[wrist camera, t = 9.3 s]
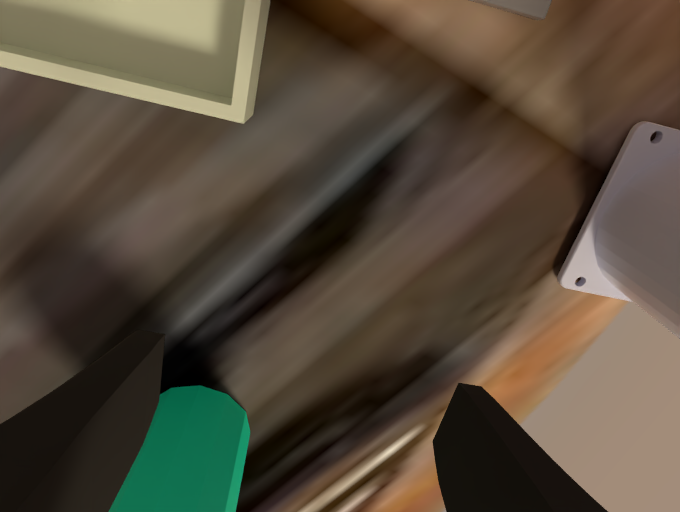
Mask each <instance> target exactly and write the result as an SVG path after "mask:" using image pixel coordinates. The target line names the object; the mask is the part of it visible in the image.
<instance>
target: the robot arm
mask: <svg viewBox="0 0 680 512" xmlns="http://www.w3.org/2000/svg"><path fill="white" fill-rule="evenodd" d="M654 132H656V137H655V138H654V140H653V141H650V137H651V135H652V134H653V133H654ZM579 277H581V279H580V281H578V282H576V283H575V281H576V279H577V278H579ZM557 280H558V282H559V284H560V285H561V286H562V287H564V288H567V289H572V290H577V291H582V292H587V293H592V294H597V295H602V296H607V297H611V298H616V299H621V300H626V301H631V302H634V303H635V304H637V305H638V306H639V307H641V308H642V309H643V310H644V311H646V312H647V313H648V314H649V315H651V316H652V317H653V318H654V319H656V320H657V321H658V322H659V323H661V324H662V325H663V326H665V327H666V328H667V329H668V330H670V331H671V332H672V333H673V334H674V335H676V336H677V337H678V338H680V130H678V129H674V128H671V127H667V126H663V125H659V124H656V123H652V122H647V121H641V122H638V123H637V124H635V125H634V126H633V127H632V128H631V130H630V132H629V134H628V136H627V138H626V140H625V142H624V144H623V146H622V148H621V150H620V152H619V154H618V156H617V158H616V160H615V162H614V164H613V166H612V168H611V170H610V172H609V174H608V176H607V178H606V180H605V182H604V184H603V186H602V188H601V190H600V192H599V194H598V196H597V198H596V200H595V202H594V204H593V206H592V208H591V210H590V212H589V214H588V216H587V218H586V220H585V222H584V224H583V226H582V228H581V230H580V232H579V234H578V236H577V238H576V240H575V242H574V244H573V246H572V248H571V250H570V252H569V254H568V256H567V258H566V260H565V262H564V264H563V266H562V268H561V270H560V272H559V274H558V277H557ZM164 341H165V334H160V333H154V332H148V331H142V330H137V331H135V332H133V333H132V334H130V335H129V336H128V337H126V338H125V339H124V340H123V341H121V342H120V343H119V344H117V345H116V346H115V347H113V348H112V349H111V350H109V351H108V352H107V353H105V354H104V355H103V356H101V357H100V358H99V359H97V360H96V361H95V362H93V363H92V364H91V365H89V366H88V367H86V368H85V369H84V370H82V371H81V372H79V373H78V374H76V375H75V376H74V377H72V378H71V379H69V380H68V381H67V382H65V383H64V384H62V385H61V386H59V387H58V388H56V389H55V390H53V391H52V392H50V393H49V394H47V395H46V396H44V397H43V398H41V399H40V400H38V401H36V402H35V403H33V404H32V405H30V406H29V407H27V408H26V409H24V410H22V411H21V412H19V413H18V414H16V415H15V416H13V417H11V418H10V419H8V420H6V421H5V422H3V423H1V424H0V512H109V510H110V508H111V506H112V504H113V502H114V500H115V498H116V496H117V494H118V492H119V490H120V488H121V487H122V485H123V483H124V481H125V479H126V477H127V475H128V473H129V471H130V469H131V467H132V465H133V463H134V461H135V459H136V457H137V455H138V453H139V451H140V449H141V447H142V445H143V443H144V440H145V438H146V435H147V433H148V430H149V428H150V425H151V422H152V420H153V417H154V414H155V411H156V409H157V406H158V403H159V397H160V386H161V374H162V363H163V352H164ZM433 448H434V455H435V463H436V469H437V475H438V481H439V485H440V489H441V493H442V497H443V500H444V504H445V507H446V511H447V512H608V511H607V510H605V509H604V508H603V507H602V506H601V505H600V504H599V503H598V502H596V501H595V500H594V499H593V498H592V497H591V496H590V495H589V494H588V493H587V492H586V491H585V490H584V489H583V488H581V487H580V486H579V485H578V484H577V483H576V482H575V481H574V480H573V479H572V478H571V477H570V476H569V475H568V474H567V473H566V472H565V471H564V470H563V469H562V468H561V467H560V466H559V465H558V464H556V462H554V461H553V460H552V458H551V457H550V456H549V455H548V454H547V453H546V452H545V451H544V450H543V449H542V448H541V447H540V446H539V445H538V444H537V443H536V442H535V441H534V440H533V439H532V438H531V437H530V436H529V435H528V434H527V433H526V432H525V431H524V430H523V429H522V427H521V426H520V425H519V424H518V423H517V422H516V421H515V420H514V419H513V418H512V417H511V416H510V415H509V414H508V413H507V412H506V411H505V410H504V409H503V408H502V406H501V405H500V404H499V403H498V402H497V401H496V400H495V399H494V398H493V397H492V396H491V395H490V394H489V393H488V392H487V391H485V390H484V389H483V388H482V387H481V386H475V385H469V384H463V383H458V385H457V388H456V390H455V392H454V394H453V397H452V399H451V401H450V403H449V406H448V408H447V410H446V412H445V415H444V417H443V419H442V421H441V424H440V426H439V428H438V430H437V433H436V435H435V437H434V439H433Z"/></svg>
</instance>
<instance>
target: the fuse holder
mask: <svg viewBox="0 0 680 512" xmlns="http://www.w3.org/2000/svg"><path fill="white" fill-rule="evenodd" d="M470 1H473V2H477V3H480V4H484V5H487V6H490V7H494V8H497V9H501V10H504V11H507V12H511V13H514V14H518V15H521V16H524V17H528V18H531V19H535V20H543V19H545V17H546V14H547V12H548V9H549V6H550V4H551V1H552V0H470Z"/></svg>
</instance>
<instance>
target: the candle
mask: <svg viewBox="0 0 680 512" xmlns="http://www.w3.org/2000/svg"><path fill="white" fill-rule="evenodd" d="M249 436H250V428H249V424H248V419H247V414H246V411H245V410H244V409H243V408H242V407H241V406H240V405H238V404H237V403H236V402H235V401H234V400H233V399H232V398H231V397H230V396H229V395H228V394H225V393H222V392H219V391H216V390H213V389H210V388H207V387H204V386H201V385H198V386H186V387H174V388H170V389H168V390H167V391H165V392H164V393H162V394H160V397H159V403H158V406H157V409H156V411H155V414H154V417H153V420H152V422H151V425H150V428H149V430H148V433H147V435H146V438H145V440H144V443H143V445H142V447H141V449H140V451H139V453H138V455H137V457H136V459H135V461H134V463H133V465H132V467H131V469H130V471H129V473H128V475H127V477H126V479H125V481H124V483H123V485H122V487H121V488H120V490H119V492H118V494H117V496H116V498H115V500H114V502H113V504H112V506H111V508H110V510H109V512H236V507H237V501H238V496H239V490H240V485H241V480H242V474H243V469H244V463H245V458H246V453H247V447H248V442H249Z"/></svg>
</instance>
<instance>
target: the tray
mask: <svg viewBox="0 0 680 512" xmlns="http://www.w3.org/2000/svg"><path fill="white" fill-rule="evenodd" d="M269 7H270V0H0V67H5V68H9V69H13V70H17V71H22V72H26V73H30V74H34V75H39V76H43V77H47V78H51V79H56V80H60V81H64V82H68V83H73V84H77V85H81V86H86V87H90V88H94V89H98V90H103V91H107V92H111V93H115V94H120V95H124V96H128V97H132V98H137V99H141V100H145V101H149V102H154V103H158V104H162V105H166V106H171V107H175V108H179V109H183V110H188V111H192V112H196V113H201V114H205V115H209V116H213V117H218V118H222V119H226V120H230V121H235V122H239V123H243V124H244V123H245V122H246V121H247V120H248V119H249V118H250V117H251V116H252V115H253V113H254V106H255V99H256V93H257V86H258V79H259V73H260V66H261V60H262V53H263V46H264V40H265V33H266V26H267V20H268V13H269Z"/></svg>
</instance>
